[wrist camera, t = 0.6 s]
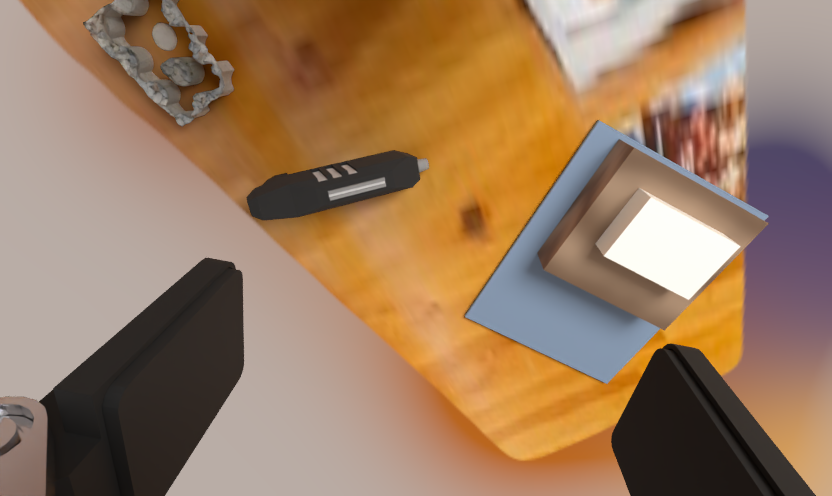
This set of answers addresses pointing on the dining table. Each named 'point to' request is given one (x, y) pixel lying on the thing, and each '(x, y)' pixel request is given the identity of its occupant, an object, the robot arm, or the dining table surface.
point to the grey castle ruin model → (180, 70)
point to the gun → (335, 185)
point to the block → (601, 203)
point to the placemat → (560, 300)
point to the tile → (665, 244)
